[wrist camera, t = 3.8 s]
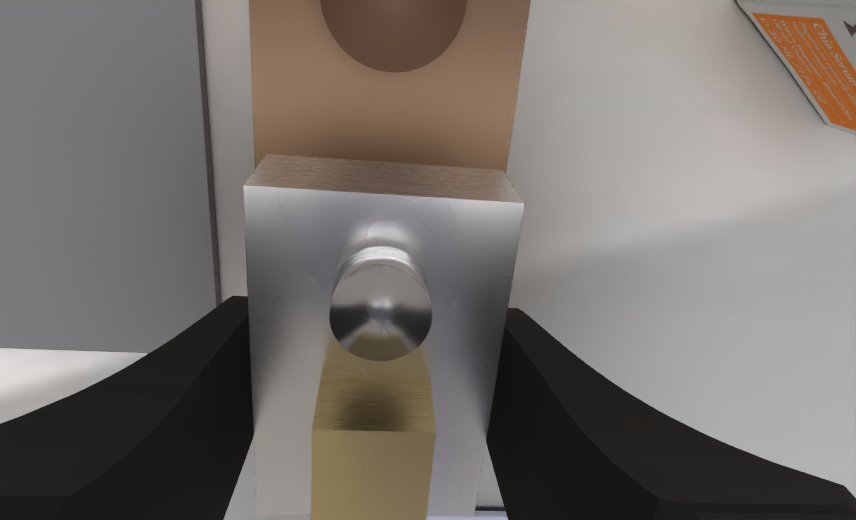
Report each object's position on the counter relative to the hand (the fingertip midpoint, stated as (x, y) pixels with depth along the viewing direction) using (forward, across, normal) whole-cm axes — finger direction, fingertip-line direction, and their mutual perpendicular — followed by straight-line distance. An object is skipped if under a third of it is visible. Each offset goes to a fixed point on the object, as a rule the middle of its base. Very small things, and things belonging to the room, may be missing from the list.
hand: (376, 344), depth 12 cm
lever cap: (+1, 0, 0) cm, 1 cm away
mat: (+9, +10, 0) cm, 13 cm away
